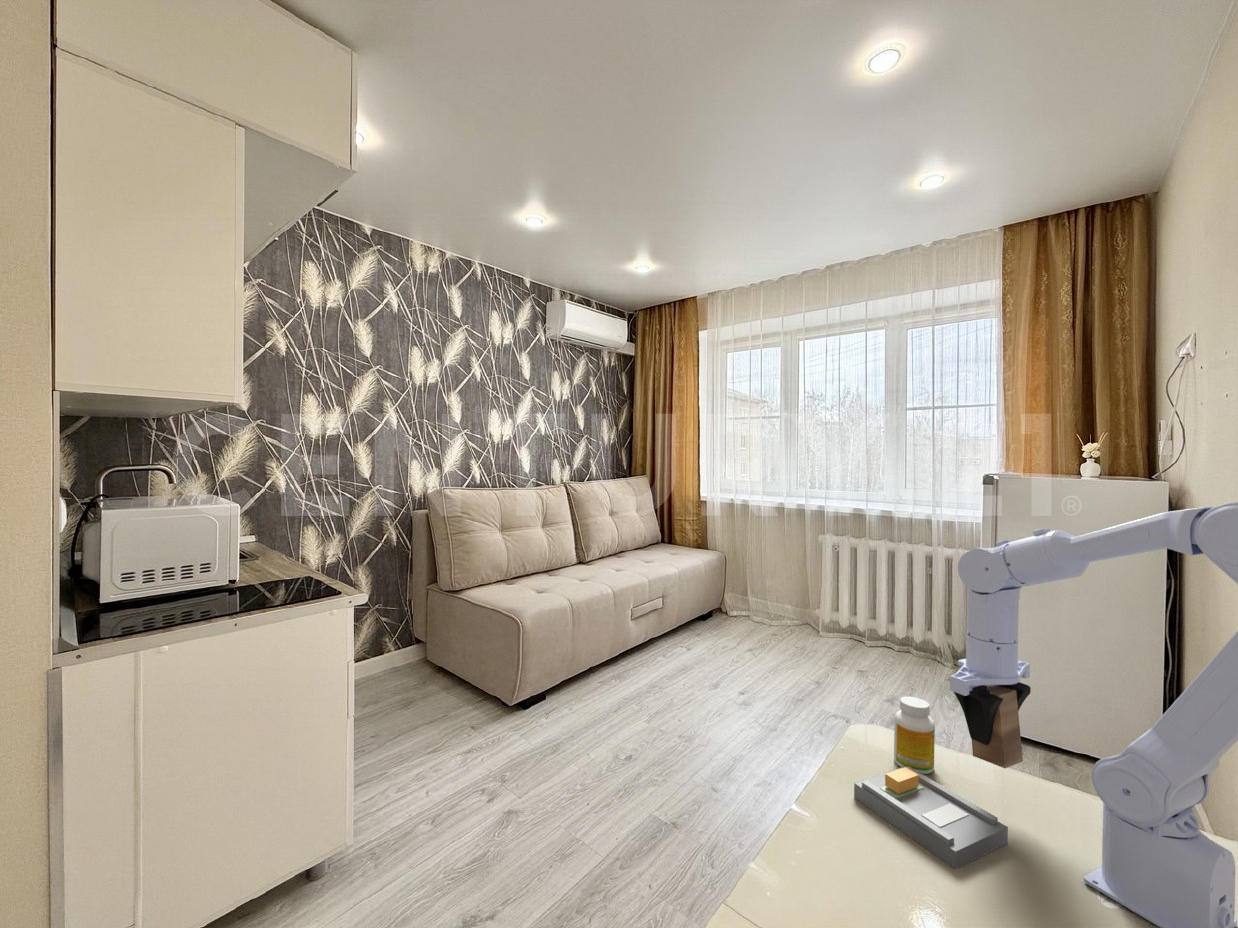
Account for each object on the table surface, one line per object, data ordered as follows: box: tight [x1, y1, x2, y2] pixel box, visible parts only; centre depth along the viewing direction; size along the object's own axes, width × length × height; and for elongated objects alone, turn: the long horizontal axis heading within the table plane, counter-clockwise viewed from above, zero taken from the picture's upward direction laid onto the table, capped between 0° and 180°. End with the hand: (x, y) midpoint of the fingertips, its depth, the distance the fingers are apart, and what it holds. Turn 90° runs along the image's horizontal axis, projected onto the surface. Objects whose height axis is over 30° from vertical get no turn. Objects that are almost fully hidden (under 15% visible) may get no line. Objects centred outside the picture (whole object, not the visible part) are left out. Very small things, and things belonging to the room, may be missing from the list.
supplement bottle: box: [893, 696, 936, 775], centre depth 81 cm, size 5×5×10 cm
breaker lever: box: [885, 767, 919, 794], centre depth 72 cm, size 2×4×2 cm, turn 115°
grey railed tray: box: [853, 766, 1009, 870], centre depth 69 cm, size 14×10×3 cm
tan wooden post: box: [971, 685, 1024, 769], centre depth 71 cm, size 4×4×9 cm
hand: (990, 737), depth 71 cm, fingers closed on tan wooden post, 4 cm apart
